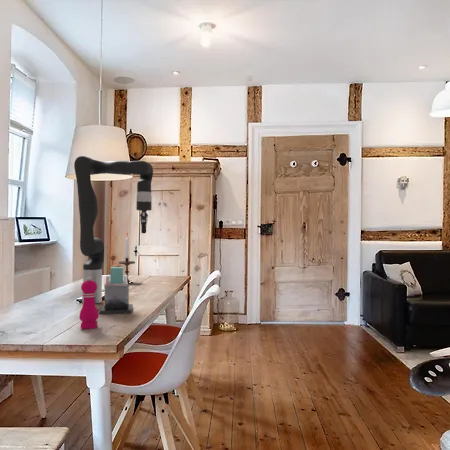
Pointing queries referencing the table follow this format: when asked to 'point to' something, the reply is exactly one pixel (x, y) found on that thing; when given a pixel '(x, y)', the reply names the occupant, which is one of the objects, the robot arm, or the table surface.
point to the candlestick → (127, 259)
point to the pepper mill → (89, 305)
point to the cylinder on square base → (116, 298)
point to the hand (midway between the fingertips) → (143, 233)
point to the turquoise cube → (116, 275)
